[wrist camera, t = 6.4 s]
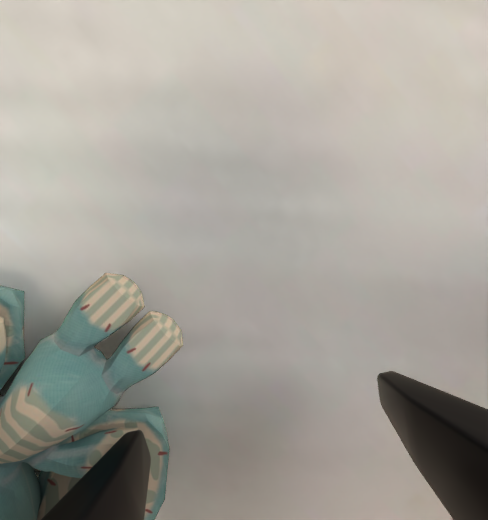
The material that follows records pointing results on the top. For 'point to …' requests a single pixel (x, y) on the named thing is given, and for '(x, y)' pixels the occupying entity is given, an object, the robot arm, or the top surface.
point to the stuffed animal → (77, 396)
